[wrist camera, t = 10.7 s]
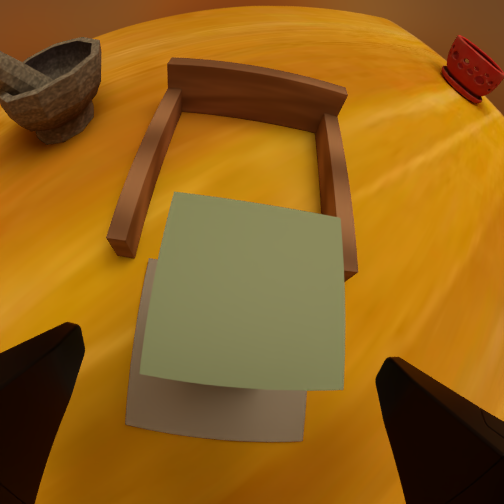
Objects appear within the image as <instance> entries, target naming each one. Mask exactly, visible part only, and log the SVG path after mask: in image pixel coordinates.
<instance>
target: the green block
mask: <svg viewBox="0 0 504 504" xmlns="http://www.w3.org/2000/svg"><path fill="white" fill-rule="evenodd" d="M344 363H345V286H344V262H343V245H342V231H341V218H339V217H333V216H328V215H323V214H317V213H312V212H306V211H301V210H295V209H289V208H283V207H277V206H271V205H265V204H259V203H252V202H246V201H239V200H232V199H225V198H218V197H211V196H204V195H196V194H188V193H180V192H174V195H173V198H172V202H171V206H170V210H169V214H168V218H167V222H166V226H165V231H164V235H163V239H162V244H161V248H160V253H159V257H158V262H157V267H156V272H155V277H154V282H153V287H152V292H151V298H150V304H149V309H148V315H147V322H146V328H145V335H144V342H143V349H142V357H141V365H140V373H139V374H143V375H148V376H154V377H159V378H165V379H171V380H177V381H184V382H191V383H198V384H206V385H215V386H225V387H236V388H249V389H266V390H301V391H314V390H343V387H344Z"/></svg>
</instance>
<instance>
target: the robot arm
mask: <svg viewBox="0 0 504 504" xmlns="http://www.w3.org/2000/svg"><path fill="white" fill-rule="evenodd" d="M84 353H85V346H84V341H83V336H82V331H81V327H80V326H79V325H78V324H74V323H70V322H65V323H63V324H61V325H59V326H57V327H55V328H53V329H50V330H48V331H46V332H44V333H42V334H40V335H38V336H36V337H33V338H31V339H29V340H27V341H25V342H23V343H21V344H19V345H17V346H15V347H12V348H10V349H8V350H6V351H4V352H2V353H0V504H35V500H36V496H37V493H38V489H39V485H40V482H41V479H42V475H43V472H44V469H45V466H46V463H47V459H48V456H49V453H50V451H51V448H52V445H53V442H54V439H55V436H56V434H57V431H58V428H59V426H60V423H61V421H62V418H63V416H64V413H65V411H66V408H67V406H68V403H69V401H70V398H71V395H72V392H73V389H74V385H75V382H76V379H77V375H78V372H79V369H80V366H81V363H82V360H83V357H84ZM376 388H377V392H378V397H379V402H380V406H381V411H382V416H383V421H384V425H385V428H386V431H387V435H388V438H389V441H390V445H391V448H392V452H393V455H394V459H395V462H396V466H397V470H398V473H399V477H400V481H401V485H402V489H403V493H404V497H405V501H406V504H504V421H502V420H500V419H498V418H497V417H495V416H493V415H491V414H490V413H488V412H486V411H485V410H483V409H482V408H479V407H478V406H477V405H475V404H473V403H472V402H470V401H469V400H467V399H465V398H464V397H462V396H460V395H459V394H457V393H456V392H454V391H452V390H451V389H449V388H448V387H446V386H444V385H443V384H441V383H440V382H438V381H436V380H435V379H433V378H432V377H430V376H428V375H427V374H425V373H424V372H422V371H420V370H419V369H417V368H416V367H414V366H413V365H411V364H409V363H408V362H406V361H405V360H403V359H401V358H400V357H388V358H387V359H386V360H385V361H384V363H383V365H382V367H381V369H380V370H379V372H378V374H377V376H376Z"/></svg>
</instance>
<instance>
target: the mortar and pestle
mask: <svg viewBox="0 0 504 504" xmlns="http://www.w3.org/2000/svg"><path fill="white" fill-rule="evenodd" d="M100 82H101V47H100V40H96V39H90V38H84V37H81V38H77V39H72V40H68V41H64V42H60V43H57V44H54V45H52V46H50V47H48V48H46V49H44V50H42V51H40V52H38V53H36V54H35V55H33V56H31V57H29V58H28V59H26V60H25V61H24V62H23V63H22V62H20V61H18V60H16V59H14V58H12V57H11V56H9V55H7V54H5V53H3V52H1V51H0V104H1V106H2V108H3V109H4V110H5V112H6V113H7V114H8V116H9V117H10V118H11V119H12V120H14V121H15V122H16V123H18V124H19V125H20V126H22V127H24V128H26V129H28V130H30V131H36V134H37V137H38V138H39V139H40V140H41V141H43V142H44V143H45V144H47V145H48V144H54V143H60V142H65V141H66V140H68V139H69V138H71V137H73V136H75V135H76V134H78V133H80V132H81V131H83V129H84V128H85V127H86V126H87V124H88V123H89V122H90V121H91V120H92V118H93V117H94V110H93V103H92V99H93V98H94V96H95V95H96V94H97V91H98V88H99V85H100Z"/></svg>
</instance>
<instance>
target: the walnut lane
mask: <svg viewBox="0 0 504 504" xmlns="http://www.w3.org/2000/svg"><path fill="white" fill-rule="evenodd" d="M167 70H168V89H167V91H166V93H165V95H164V97H163V99H162V101H161V103H160V105H159V107H158V109H157V111H156V113H155V115H154V117H153V119H152V121H151V123H150V125H149V127H148V129H147V132H146V134H145V136H144V138H143V140H142V143H141V145H140V147H139V149H138V152H137V154H136V156H135V159H134V161H133V164H132V166H131V169H130V171H129V174H128V176H127V179H126V181H125V184H124V187H123V189H122V192H121V195H120V198H119V200H118V203H117V206H116V209H115V212H114V215H113V218H112V221H111V224H110V227H109V231H108V234H107V237H106V238H107V240H108V241H109V243H110V245H111V246H112V248H113V249H114V251H115V252H116V254H117V255H118V256H124V257H131V258H135V255H136V251H137V247H138V243H139V239H140V236H141V232H142V228H143V224H144V221H145V217H146V214H147V210H148V207H149V204H150V200H151V197H152V194H153V190H154V187H155V184H156V181H157V178H158V175H159V172H160V169H161V166H162V163H163V160H164V157H165V155H166V152H167V149H168V146H169V143H170V141H171V138H172V135H173V133H174V130H175V128H176V125H177V122H178V120H179V117H180V115H181V112H182V111H183V112H194V113H204V114H213V115H221V116H228V117H235V118H242V119H248V120H254V121H260V122H266V123H271V124H276V125H281V126H286V127H291V128H296V129H300V130H305V131H309V132H313V133H315V137H316V147H317V157H318V169H319V182H320V197H321V214H323V215H328V216H333V217H339V218H341V231H342V245H343V262H344V282H345V281H347V280H348V279H349V278H351V277H352V276H353V275H355V274H356V273H358V264H357V251H356V239H355V229H354V219H353V210H352V202H351V194H350V187H349V180H348V173H347V167H346V161H345V155H344V149H343V144H342V138H341V133H340V128H339V123H338V118H337V116H338V114H339V112H340V110H341V108H342V106H343V104H344V102H345V100H346V98H347V96H348V94H347V91H346V88H345V87H342V86H338V85H335V84H332V83H328V82H325V81H321V80H317V79H314V78H310V77H306V76H302V75H298V74H293V73H289V72H284V71H279V70H274V69H269V68H264V67H258V66H252V65H246V64H239V63H232V62H223V61H214V60H203V59H190V58H171V59H170V61H169V62H168V64H167Z"/></svg>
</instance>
